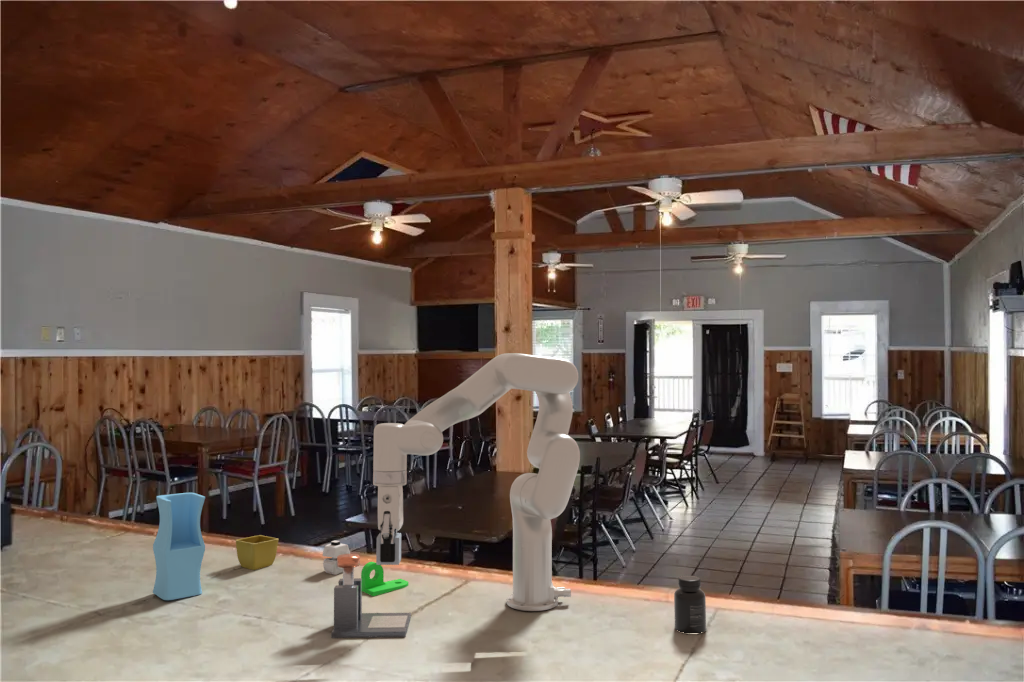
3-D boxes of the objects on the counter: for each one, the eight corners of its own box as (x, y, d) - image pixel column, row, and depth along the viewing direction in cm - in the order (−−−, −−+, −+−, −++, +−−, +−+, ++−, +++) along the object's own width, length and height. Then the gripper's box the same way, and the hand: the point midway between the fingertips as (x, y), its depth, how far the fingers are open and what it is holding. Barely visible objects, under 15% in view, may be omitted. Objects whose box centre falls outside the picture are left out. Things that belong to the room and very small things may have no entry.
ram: (360, 606, 180) (361, 553, 181) (357, 613, 175) (357, 558, 176) (338, 606, 180) (339, 553, 180) (334, 613, 175) (335, 559, 175)
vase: (164, 601, 198) (166, 500, 198) (152, 592, 205) (153, 496, 206) (204, 593, 204) (205, 496, 205) (191, 585, 211) (192, 492, 212)
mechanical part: (373, 599, 200) (373, 568, 200) (361, 594, 204) (361, 563, 204) (412, 590, 207) (412, 560, 208) (400, 586, 212) (400, 556, 212)
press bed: (410, 617, 185) (410, 574, 185) (405, 636, 172) (405, 590, 172) (341, 618, 184) (342, 575, 184) (331, 638, 171) (331, 591, 171)
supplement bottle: (707, 629, 177) (707, 575, 177) (704, 639, 170) (704, 583, 171) (676, 626, 179) (676, 572, 179) (672, 635, 173) (672, 580, 173)
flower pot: (260, 565, 233) (260, 534, 233) (279, 569, 228) (279, 538, 228) (234, 571, 226) (234, 539, 226) (253, 576, 221) (253, 543, 221)
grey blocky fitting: (351, 575, 221) (352, 540, 222) (334, 581, 216) (335, 544, 216) (336, 572, 224) (336, 537, 225) (319, 578, 219) (319, 541, 219)
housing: (401, 559, 181) (401, 530, 181) (398, 564, 176) (399, 535, 176) (379, 559, 181) (379, 530, 181) (376, 564, 176) (376, 535, 176)
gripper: (402, 483, 171) (402, 568, 170) (409, 472, 188) (409, 549, 187) (368, 483, 170) (367, 568, 170) (378, 472, 187) (377, 549, 187)
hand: (389, 557), depth 178 cm, fingers closed on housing, 4 cm apart
